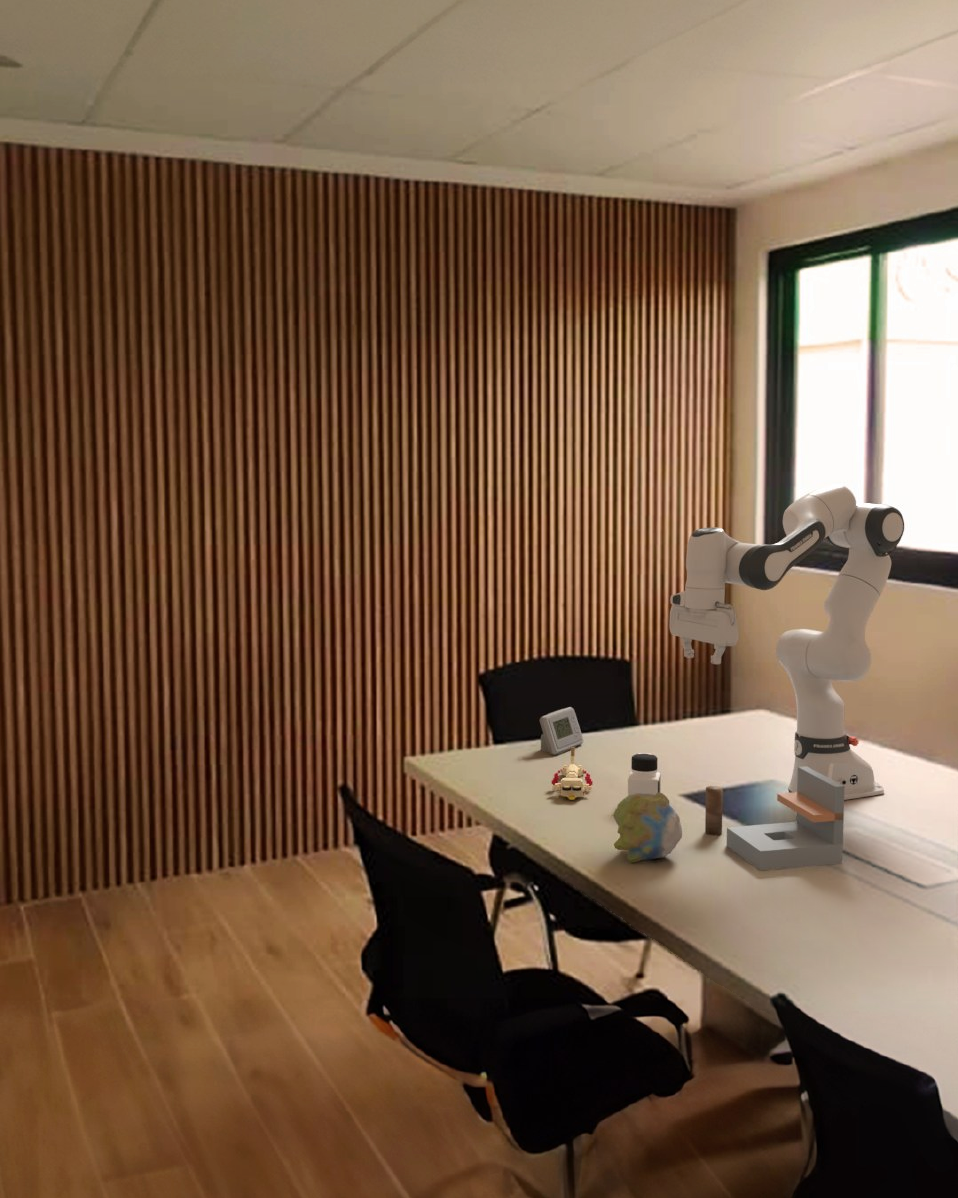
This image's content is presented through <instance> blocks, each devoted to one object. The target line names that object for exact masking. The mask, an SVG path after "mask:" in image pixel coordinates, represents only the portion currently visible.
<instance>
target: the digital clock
mask: <svg viewBox="0 0 958 1198" xmlns="http://www.w3.org/2000/svg"><path fill="white" fill-rule="evenodd" d="M539 723H540V727H541V730H542V734H541V735H540V751H541V752H546V753H547V752H548V753H549V754H550V755H552V756H556V755H559V754H563V753H566V752H568V751H571V747H575V748H577V747H578V746H581V745H582V744H583V742H584V738H583V734H582V731H581V727H580V724H579V722H578V718H577V714H576V712H575V709H574V708H573V707H572V706H569V707H565V708H561V709H557V710H555V711H552V712H549V713H547V714H546V715H543V716H541V717H540V718H539Z"/></svg>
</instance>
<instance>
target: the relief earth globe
mask: <svg viewBox="0 0 958 1198" xmlns="http://www.w3.org/2000/svg"><path fill="white" fill-rule="evenodd" d="M613 818H614V821H615V822H616V824H617V826H618V828H617V829H618V830H617V833H618V834H619V838H618V839H617V840H616V841H614V843H613V846H614V849H617V850H619V851H628V854H627V860H628V862H630V863H632V864H634V863H636V862H640V861H644V860H647V861H649V860H655V859H659V858H664V857H665V858H666V857H667V856H668V855H669V854H671V853H672V852H673V850H674V849H675V848H676V847H677V844H679V842H680V841H681V839H682V838H683V830H682V824H681V818H680V815H679V814H678V813H677V812H676V810H675V809H674V808H673V807H672V806H671V804H670V800H669V798H668V796H666V795H665V794H664V792H660V793H657V794H655V795H653V794H641V793H637V794H633V795H629V796H628V795H627V796H626V797H624V798H623V799H622V800H621V801H620V802H619V803H617V807H616V808H615V810H614V811H613Z"/></svg>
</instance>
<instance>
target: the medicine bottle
mask: <svg viewBox="0 0 958 1198" xmlns="http://www.w3.org/2000/svg"><path fill="white" fill-rule="evenodd" d="M630 768H631V771H630V772H629V775H628V779H627V796H629V795H633V794H637V793H641V794H653V795H655V794H657V793H661V776H662V775H661V772H659V771H658V757H657V755H655V754H653V753H649V752H641V753H640V752H639V753H636V754H633V755H632V756H631V767H630Z"/></svg>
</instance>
